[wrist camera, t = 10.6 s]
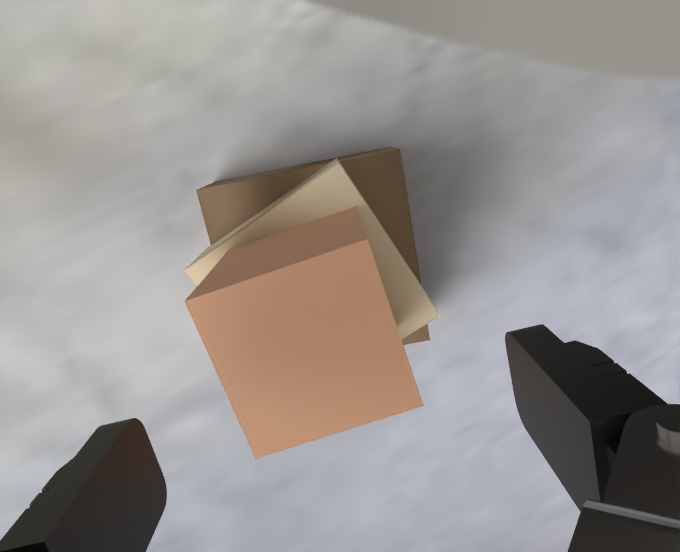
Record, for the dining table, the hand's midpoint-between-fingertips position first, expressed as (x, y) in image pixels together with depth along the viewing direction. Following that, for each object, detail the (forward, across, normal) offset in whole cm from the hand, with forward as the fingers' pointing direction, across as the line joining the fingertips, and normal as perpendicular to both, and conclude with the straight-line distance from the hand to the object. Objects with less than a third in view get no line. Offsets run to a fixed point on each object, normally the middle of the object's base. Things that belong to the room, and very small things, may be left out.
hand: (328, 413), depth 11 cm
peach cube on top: (+9, 0, 0) cm, 9 cm away
